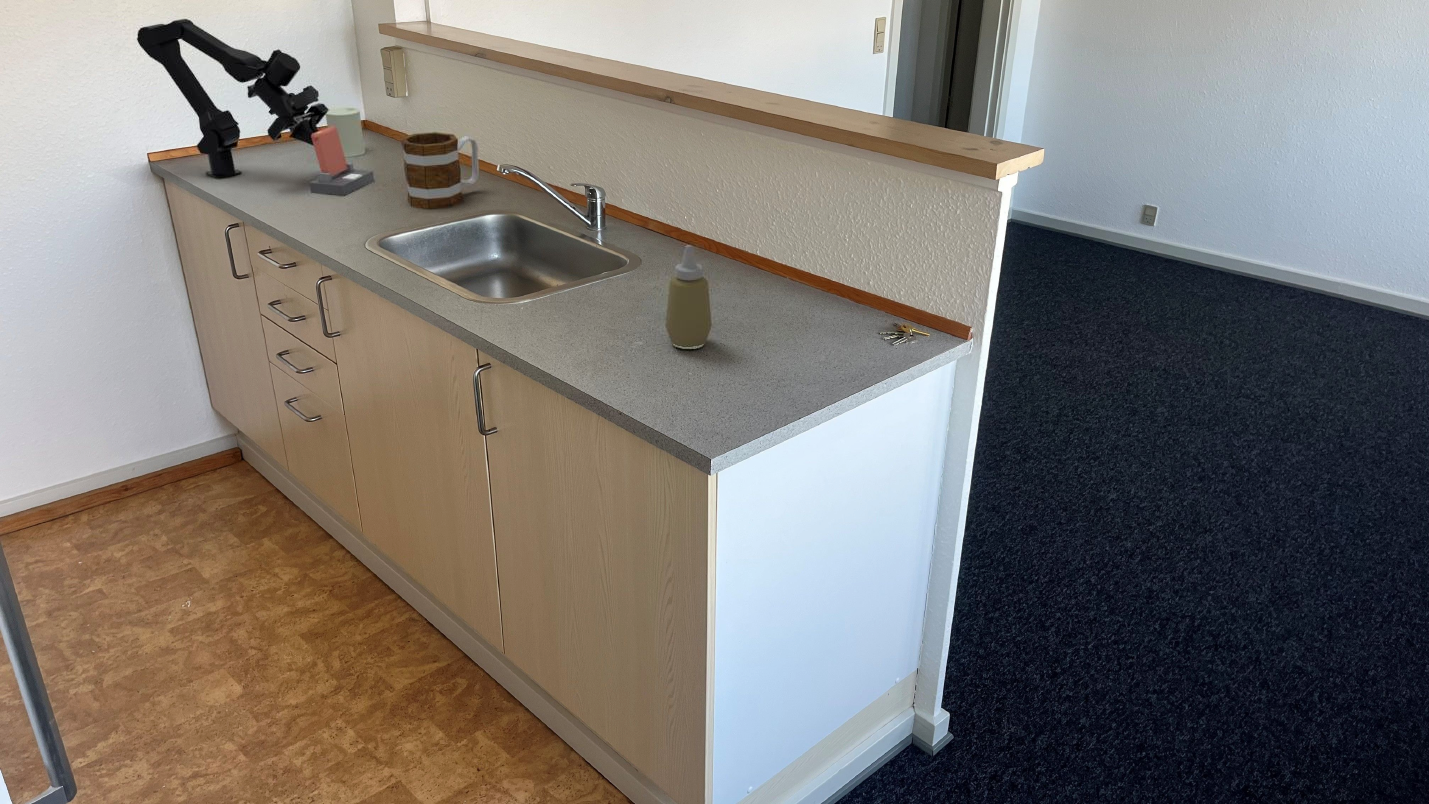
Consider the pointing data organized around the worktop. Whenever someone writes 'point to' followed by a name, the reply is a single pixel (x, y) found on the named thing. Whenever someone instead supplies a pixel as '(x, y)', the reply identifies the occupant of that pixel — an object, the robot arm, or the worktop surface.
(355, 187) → the grey holder stand
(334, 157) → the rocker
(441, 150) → the mug
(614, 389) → the worktop surface
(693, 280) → the squeeze bottle
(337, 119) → the can
